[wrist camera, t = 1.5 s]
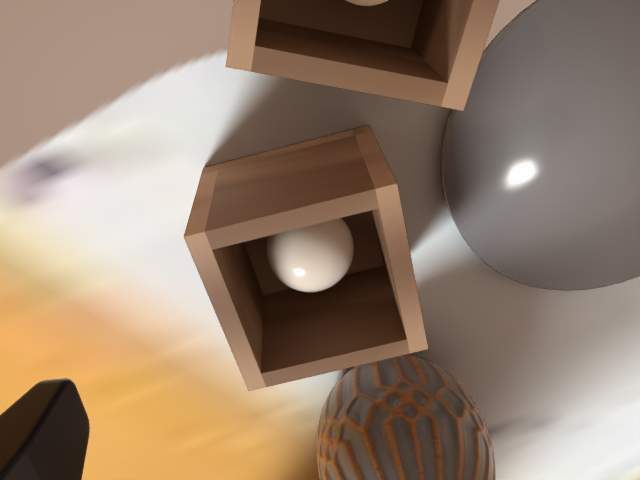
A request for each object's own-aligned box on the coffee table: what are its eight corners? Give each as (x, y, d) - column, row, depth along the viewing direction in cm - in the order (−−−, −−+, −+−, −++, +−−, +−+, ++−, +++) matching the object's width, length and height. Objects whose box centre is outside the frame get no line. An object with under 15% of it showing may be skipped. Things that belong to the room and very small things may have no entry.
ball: (350, 258, 21) (360, 305, 19) (271, 266, 21) (270, 314, 19) (346, 186, 20) (357, 226, 17) (261, 194, 20) (260, 235, 17)
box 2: (398, 266, 22) (428, 349, 18) (253, 301, 23) (248, 390, 18) (369, 125, 20) (396, 183, 15) (203, 167, 20) (183, 237, 16)
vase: (413, 301, 23) (481, 484, 16) (487, 396, 26) (574, 587, 19) (280, 380, 25) (284, 580, 17) (364, 460, 28) (398, 661, 20)
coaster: (717, 268, 24) (727, 276, 23) (434, 295, 23) (438, 303, 23) (826, -54, 18) (843, -53, 17) (449, -25, 17) (454, -23, 17)
